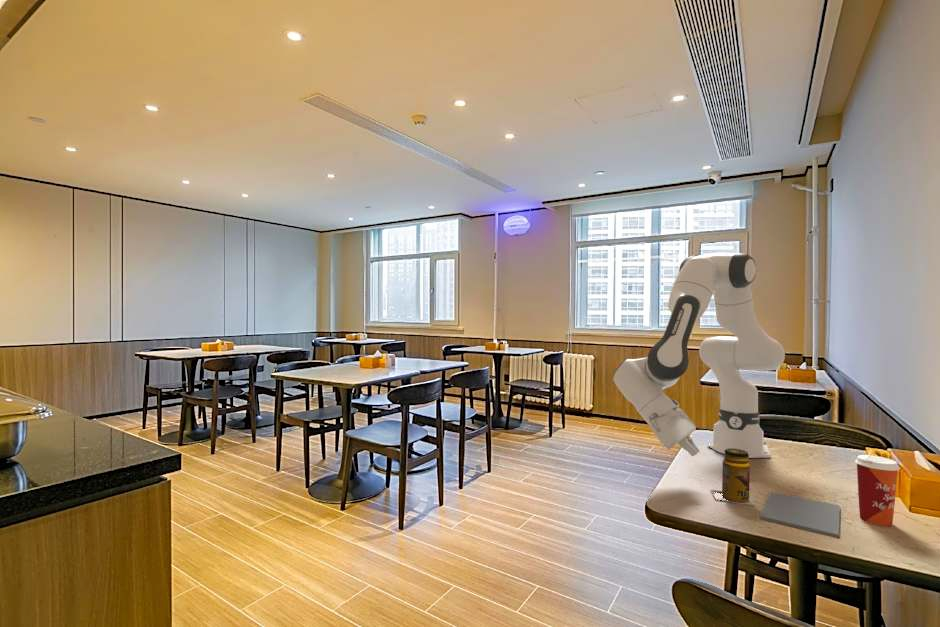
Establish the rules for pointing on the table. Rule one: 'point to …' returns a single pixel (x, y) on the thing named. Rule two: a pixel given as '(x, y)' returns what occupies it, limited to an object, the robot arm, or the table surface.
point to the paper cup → (876, 489)
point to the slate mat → (802, 513)
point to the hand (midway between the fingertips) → (696, 453)
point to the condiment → (735, 477)
